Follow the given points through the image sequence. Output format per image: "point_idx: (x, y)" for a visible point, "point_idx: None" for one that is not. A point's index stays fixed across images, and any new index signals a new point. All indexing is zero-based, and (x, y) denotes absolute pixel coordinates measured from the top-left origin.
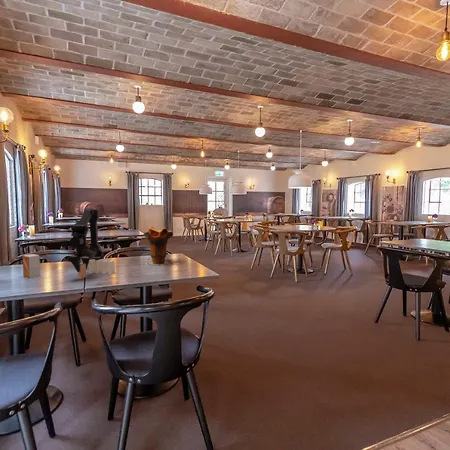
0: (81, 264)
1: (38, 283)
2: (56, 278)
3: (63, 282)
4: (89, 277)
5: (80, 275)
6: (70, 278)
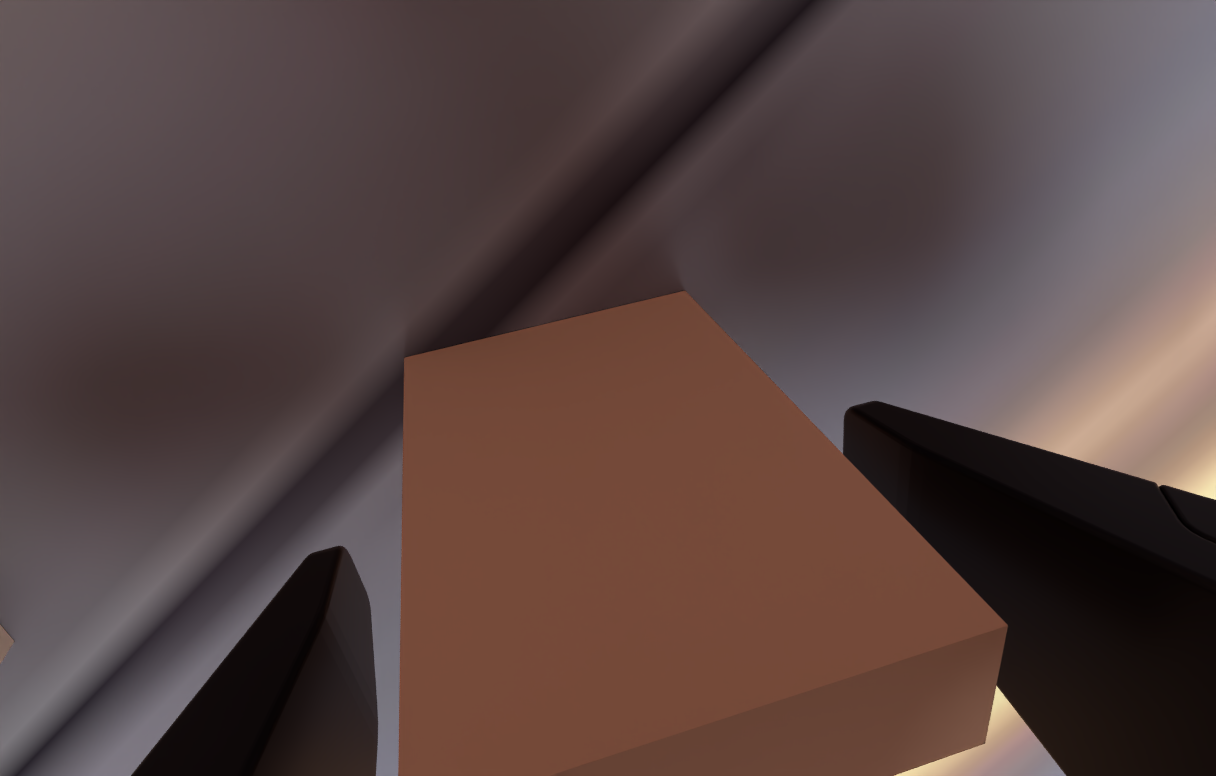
0: (775, 763)
1: None
2: None
3: (1110, 360)
4: (443, 141)
5: (727, 343)
6: None
